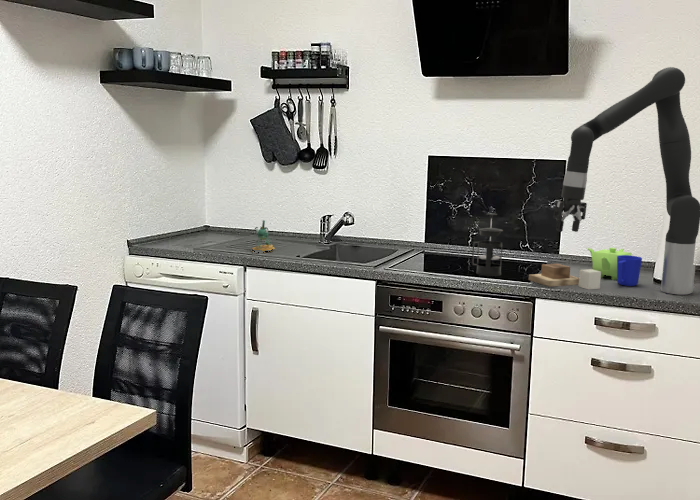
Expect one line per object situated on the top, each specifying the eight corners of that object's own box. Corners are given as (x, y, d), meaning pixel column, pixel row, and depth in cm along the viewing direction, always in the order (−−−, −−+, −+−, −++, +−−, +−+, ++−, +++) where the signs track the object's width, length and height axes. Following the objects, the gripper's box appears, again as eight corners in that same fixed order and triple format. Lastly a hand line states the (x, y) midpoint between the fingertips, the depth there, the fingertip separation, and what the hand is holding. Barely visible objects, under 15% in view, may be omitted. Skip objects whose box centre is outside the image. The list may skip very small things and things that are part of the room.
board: (560, 277, 259) (560, 272, 258) (581, 284, 248) (582, 278, 247) (528, 279, 254) (528, 274, 253) (549, 286, 243) (549, 281, 242)
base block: (556, 274, 255) (557, 263, 254) (569, 278, 248) (570, 266, 248) (541, 275, 252) (541, 264, 252) (553, 279, 246) (554, 267, 245)
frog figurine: (283, 249, 313) (282, 217, 309) (263, 259, 297) (262, 225, 293) (265, 247, 317) (263, 215, 313) (244, 257, 301) (242, 224, 297)
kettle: (584, 273, 269) (586, 244, 267) (620, 273, 269) (622, 245, 268) (599, 281, 254) (602, 250, 252) (637, 281, 255) (640, 251, 253)
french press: (503, 272, 267) (507, 212, 264) (502, 276, 258) (505, 215, 255) (473, 270, 270) (475, 211, 267) (470, 274, 262) (473, 213, 258)
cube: (589, 285, 246) (591, 269, 245) (599, 288, 241) (601, 271, 240) (578, 286, 244) (579, 269, 243) (588, 289, 239) (589, 272, 239)
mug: (606, 285, 246) (608, 257, 244) (621, 281, 254) (623, 254, 253) (628, 289, 240) (631, 261, 239) (643, 285, 249) (646, 257, 247)
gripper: (570, 186, 233) (562, 233, 236) (596, 187, 241) (588, 233, 244) (552, 183, 239) (545, 229, 242) (578, 184, 247) (571, 229, 250)
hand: (567, 231), depth 243 cm, fingers open, 8 cm apart
